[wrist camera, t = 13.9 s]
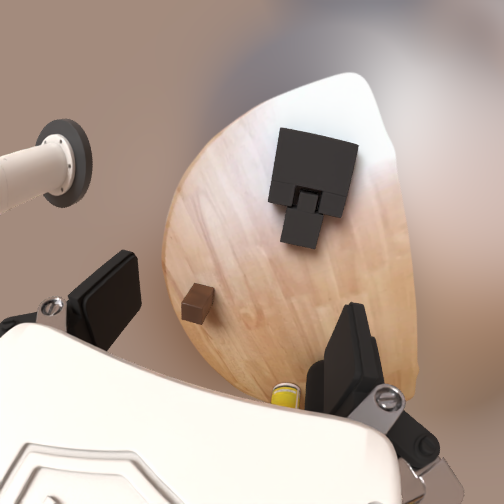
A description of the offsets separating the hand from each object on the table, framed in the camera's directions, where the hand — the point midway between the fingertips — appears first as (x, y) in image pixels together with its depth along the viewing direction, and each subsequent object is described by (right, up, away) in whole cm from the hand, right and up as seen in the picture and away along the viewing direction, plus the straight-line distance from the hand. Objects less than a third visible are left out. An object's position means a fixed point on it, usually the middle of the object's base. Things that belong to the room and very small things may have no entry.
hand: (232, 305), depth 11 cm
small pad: (+8, +7, +27) cm, 29 cm away
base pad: (+9, +13, +24) cm, 29 cm away
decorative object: (+15, -20, +39) cm, 46 cm away
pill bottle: (+9, -28, +44) cm, 53 cm away
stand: (-8, -5, +36) cm, 37 cm away
